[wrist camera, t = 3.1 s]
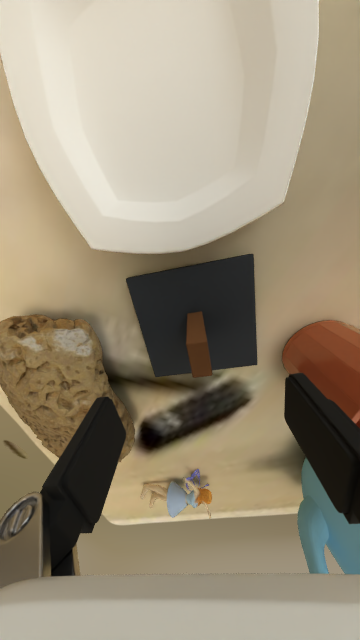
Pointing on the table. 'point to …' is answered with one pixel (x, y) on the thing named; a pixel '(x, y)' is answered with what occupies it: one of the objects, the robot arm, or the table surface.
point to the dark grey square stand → (198, 316)
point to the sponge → (55, 377)
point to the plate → (162, 111)
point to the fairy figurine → (179, 495)
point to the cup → (328, 362)
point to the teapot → (325, 528)
